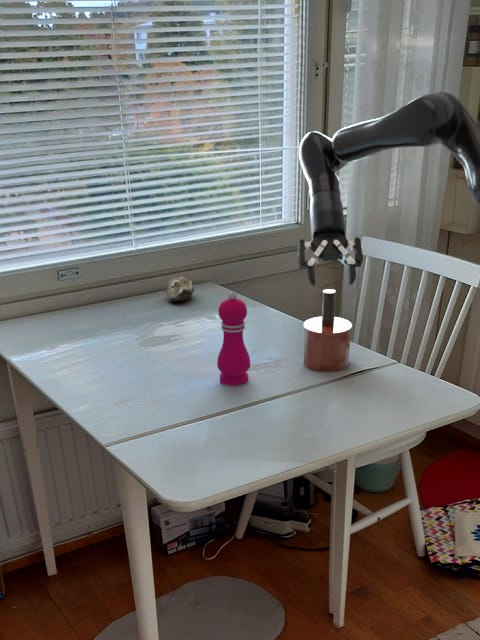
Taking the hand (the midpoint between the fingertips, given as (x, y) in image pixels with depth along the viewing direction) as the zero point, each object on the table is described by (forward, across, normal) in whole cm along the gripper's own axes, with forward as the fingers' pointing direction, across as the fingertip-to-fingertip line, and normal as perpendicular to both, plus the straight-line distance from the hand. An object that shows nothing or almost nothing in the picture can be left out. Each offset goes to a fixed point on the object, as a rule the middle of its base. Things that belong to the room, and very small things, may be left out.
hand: (332, 283), depth 174 cm
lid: (+9, -1, +3) cm, 9 cm away
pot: (+15, -1, +9) cm, 17 cm away
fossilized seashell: (-21, -35, +44) cm, 60 cm away
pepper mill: (+21, -23, +3) cm, 31 cm away
